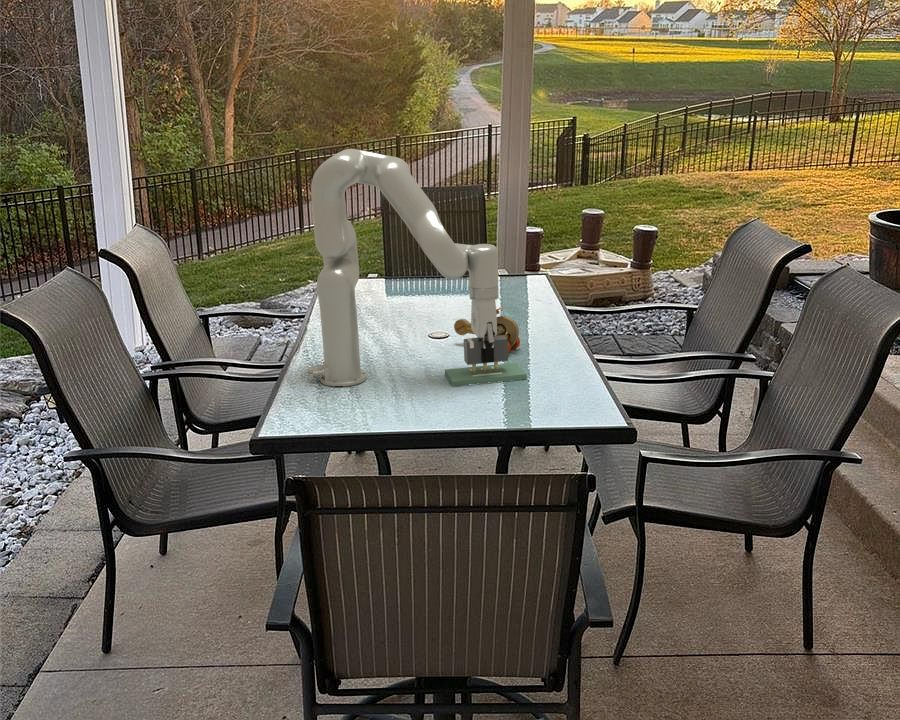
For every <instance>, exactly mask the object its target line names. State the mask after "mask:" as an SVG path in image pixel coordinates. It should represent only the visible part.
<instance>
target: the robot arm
mask: <svg viewBox="0 0 900 720" xmlns="http://www.w3.org/2000/svg"><path fill="white" fill-rule="evenodd" d="M410 169H411V168H410V166H409V165H408V163H407V162H406V161H405V160H403V159H402V158H400V157H397V156H391V155H387V154H381V153H377V152H371V151H367V150H361V149H356V148H348V149H347V148H346V149H343V150H342V151H339V152H337V153H336V154H334V155H332V156H331V157H329V158H328V159H326V160H325V161H324V162H323V163H321V164H320V165H319V166H318V168H317V169H316V171H315V172H314V173H313V177H312V180H311V185H310V186H311V187H310V193H311V197H310V198H311V206H312V207H311V208H312V218H313V219H312V222H313V229H314V232H313V233H314V244H315V248H316V250H317V251H318V253H319V254H320V255H322V262H323V268H322V269H321V270H320V272H319V275H318V276H317V281H316V294H317V297H318V304H319V305H318V306H319V312H320V314H319V315H320V325H321V334H322V349H323V361H322V364H319V366H307V375H312V376H313V377H315V376H316V377H317V376H319V381H320V383H322V385H325V386H329V387H335V386H343V387H350V386H355V385H359V384H361V383H363V382H364V381H366V380H367V378H368V376H367V375H368V374H367V371H366V370H363V369H362V368H361V354H360V353H361V352H360V338H359V326H358V325H359V324H358V322H359V321H358V312H357V311H358V309H357V301H356V286H357V283H358V282H359V279H360V265H359V264H360V263H359V253H358V242H357V234H356V230H355V228H354V226H353V224H352V223H351V221H350V220H349V219H348V215H347V201H346V195H345V194H346V193H345V192H346V191H347V188H349V187H351V186H354V185H355V184H361V185H364V186H365V185H367V186H372V187H377V188H378V189H379V190H380V192H381V194H382V195H383V196H384V198H385V199H386V201H388V203H389V204H390V205H391V207H392V208H393V209H394V210H395V212H396V213H397V215H398V216H399V217H400V218H401V220H402V221H403V222H404V225H405V226H406V227H407V228H408V230H409V232H410V234H411V235H412V236H413V238H414V239H415V241H416V242H417V243H418V245H419V247H420V249H421V250H422V252H423V253H424V254H425V256H427V258H428V260H429V261H430V262H431V263H432V265H433V266H434V268H435V269H436V270H437V271H438V272H439V273H440V275H441V276H443V277H444V278H446V279H448V280H457V279H460V278H462V277H463V276H464V275H465V274H466V272H467V271H468V279H469V281H468V282H469V284H468V285H469V299H470V300H471V304H470V305H471V307H470V308H471V311H470V312H471V313H470V315H471V316H470V318H471V319H470V323H471V329H472V331H473V332H474V334H473V335H475V336H476V338H482V345H483V348H481V351H482V364H483V363H487V364H489V362H491V363H494V338H493V337H495V336H496V335H497V317H498V316H497V315H498V314H497V315H496V309H497V304H496V301H497V300H498V299H500V297H499V296H500V295H499V292H500V291H499V288H500V287H499V253H498V252H499V251H498V247H497V246H495V245H494V244H489V243H479V244H478V243H477V244H464V243H455V242H454V241H453V239H452V238H451V237H450V235H449V234H448V232H447V230H446V229H445V227H444V226H443V224H442V222H441V220H440V217H439V213H438V211H437V209H436V207H435V205H434V204H433V202H432V201H431V200H430V199H429V197H428V196H427V194H426V193H425V192H424V190H423V189H422V188H421V186H420V185H419V184H418V182H417V181H416V179H415V178H414V177H413V175H412V174H411V170H410ZM485 339H488V340H486V342H485Z"/></svg>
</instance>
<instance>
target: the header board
mask: <svg viewBox="0 0 900 720" xmlns="http://www.w3.org/2000/svg"><path fill="white" fill-rule="evenodd" d="M527 374H528V373H526V372H525V370H523V368H521V366H520V365H519V364H518V363H517V362H509V363H499V362H493V364H488V363H482V365H477V364H472V365H471V366H467V367H465V366H464V367H457V368H445V369H444V376H445V377H446V379H447V380H448V382H449V384H450V383H451V384H450V386H451V387H452V386H453V387H454V386H456V387H463V386H462V385H467V386H470V385H469V384H477V383H487V384H489V383H488V382H497V383H499V382H498V381H507V382H512V381H511V380H517V381H523V380H522V379H528V378H527ZM477 385H478V384H477ZM453 387H452V388H453Z"/></svg>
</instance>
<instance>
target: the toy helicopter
mask: <svg viewBox="0 0 900 720" xmlns="http://www.w3.org/2000/svg"><path fill="white" fill-rule="evenodd" d="M503 309H505V306H503V307H502V306H501V307H499V308H496V315H498V316H497V335H496V336H500V335H504V336H505V337H506V338H507V339H508V354H509V353H510V351H514V350H516V349H519V347H520V345H521V340H520V339H521V338H520V337H519V335H520V334H519V333H520V329H519V325H518V324H517V322H516V321H515V320H514V319H513V318H511V317H509V316H502V315H500V316H499V314H500V313H501V312H500V310H503ZM453 329H454V331H455V333H456V334H457V335H459V336H466V335H467V334H470V335H471V334H472V335H475V334H474V332H473V331H472V329H471V321H470V322H469V320H467V319H466V318H460V319H456V320H455V322H454V324H453Z"/></svg>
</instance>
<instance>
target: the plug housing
mask: <svg viewBox="0 0 900 720" xmlns="http://www.w3.org/2000/svg"><path fill="white" fill-rule="evenodd" d="M493 338H494V362H498V363H499V362H507V361H509V353H508V339H507V338H506V337H505V336H504V335H500V336H495V337H493ZM486 340H488V339H485V342H486ZM481 348H483V345H482V338H477V337H466V338H464V339H463V359H464V360H463V361H464V362H465V364H466V365H467V366H472V364H476V365H479V364H480V365H481V364H482V365H483V363H482V351H481ZM494 362H493V363H494ZM489 363H492V362H489ZM489 363H488V364H489Z"/></svg>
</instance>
